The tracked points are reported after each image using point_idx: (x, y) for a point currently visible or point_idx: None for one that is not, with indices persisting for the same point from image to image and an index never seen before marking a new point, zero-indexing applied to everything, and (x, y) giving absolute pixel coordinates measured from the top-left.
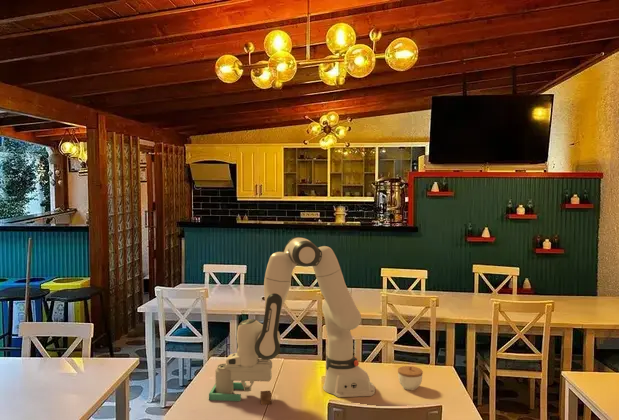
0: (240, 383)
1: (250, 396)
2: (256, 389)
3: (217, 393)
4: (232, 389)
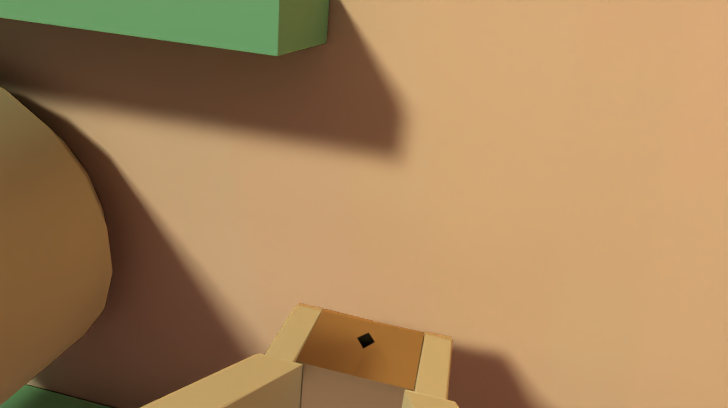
0: (133, 32)
1: None
2: (588, 59)
3: None
4: (68, 311)
